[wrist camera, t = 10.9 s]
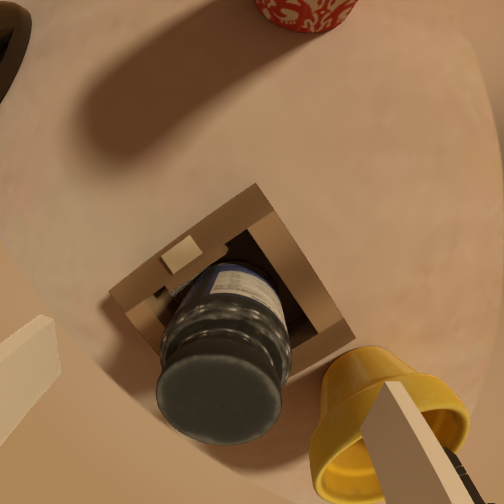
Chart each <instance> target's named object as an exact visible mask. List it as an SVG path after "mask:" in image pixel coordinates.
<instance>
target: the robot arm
mask: <svg viewBox="0 0 504 504" xmlns="http://www.w3.org/2000/svg"><path fill="white" fill-rule="evenodd" d="M31 26H32V20H31V15H30V13H29V12H28V11H27V10H26V9H24V8H23V7H21V6H20V5H18V4H16V3H13V2H6V1H0V101H1V99H2V98H3V96H4V94H5V93H6V91H7V89H8V88H9V86H10V84H11V82H12V80H13V78H14V76H15V74H16V72H17V70H18V68H19V66H20V64H21V61H22V59H23V56H24V54H25V51H26V48H27V45H28V42H29V38H30V34H31ZM61 374H62V370H61V365H60V359H59V353H58V346H57V339H56V332H55V322H54V319H52V318H50V317H47V316H44V315H42V314H40V315H38V316H37V317H36V318H34V319H33V320H31V321H30V322H29V323H27V324H26V325H25V326H23V327H22V328H20V329H19V330H18V331H16V332H15V333H14V334H12V335H11V336H9V337H8V338H7V339H6V340H4V341H3V342H1V343H0V446H1V445H2V444H3V442H4V441H5V440H6V438H7V437H8V436H9V435H10V434H11V432H12V431H13V430H14V429H15V427H16V426H17V425H18V424H19V423H20V421H21V420H22V419H23V418H24V417H25V415H26V414H27V413H28V412H29V411H30V409H31V408H32V407H33V406H34V405H35V404H36V402H37V401H38V400H39V399H40V397H42V395H43V394H44V393H45V392H46V391H47V390H48V388H49V387H50V386H51V385H52V384H53V383H54V382H55V380H57V378H58V377H59V376H60V375H61ZM360 432H361V435H362V437H363V440H364V443H365V445H366V448H367V451H368V453H369V456H370V459H371V461H372V464H373V467H374V470H375V472H376V475H377V478H378V481H379V483H380V486H381V489H382V492H383V495H384V498H385V500H386V503H387V504H485V502H484V501H483V500H482V498H481V496H480V495H479V493H478V491H477V489H476V487H475V486H474V484H473V482H472V481H471V479H470V477H469V476H468V474H466V471H465V469H464V467H462V464H461V462H460V461H459V459H458V457H457V456H456V454H454V453H453V452H452V451H451V450H450V449H449V448H447V447H443V448H442V447H441V445H440V443H439V442H438V440H437V438H436V437H435V435H434V433H433V432H432V430H431V429H430V427H429V425H428V424H427V422H426V421H425V419H424V417H423V416H422V414H421V413H420V411H419V410H418V408H417V406H416V405H415V403H414V402H413V400H412V399H411V397H410V396H409V394H408V393H407V391H406V390H405V388H404V387H403V385H402V383H401V382H400V381H385V382H384V384H383V386H382V388H381V390H380V392H379V394H378V396H377V398H376V400H375V402H374V404H373V406H372V407H371V409H370V411H369V413H368V415H367V417H366V418H365V420H364V422H363V424H362V426H361V427H360ZM488 504H495V503H488Z"/></svg>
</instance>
